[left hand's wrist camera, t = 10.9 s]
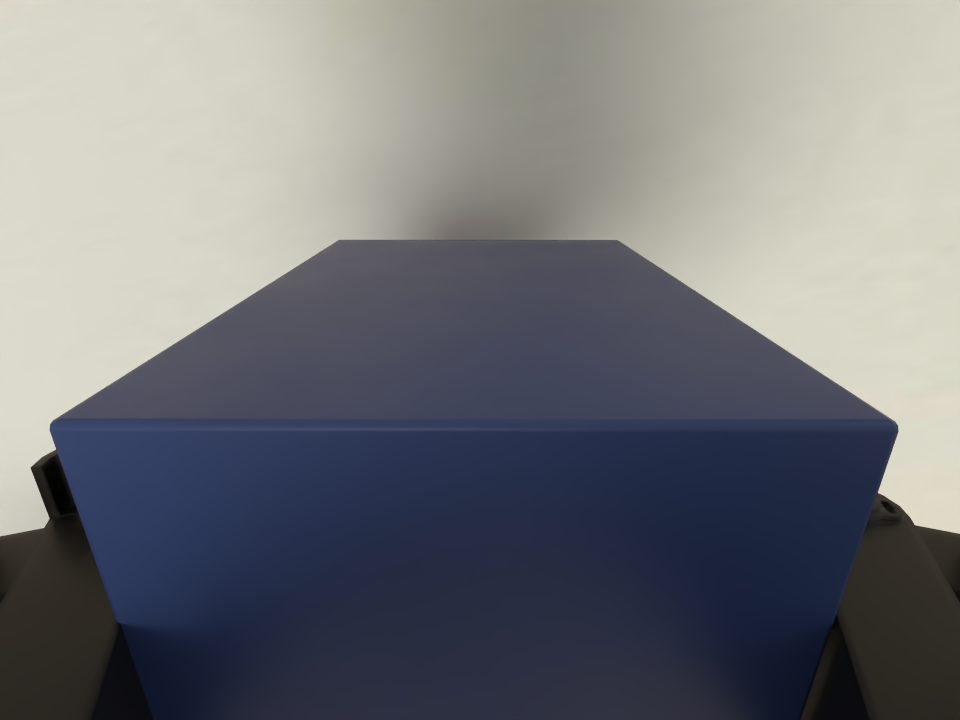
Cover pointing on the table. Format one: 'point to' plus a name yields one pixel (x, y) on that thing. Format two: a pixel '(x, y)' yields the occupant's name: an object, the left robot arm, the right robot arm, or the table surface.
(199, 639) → the box
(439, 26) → the table surface
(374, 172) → the table surface
